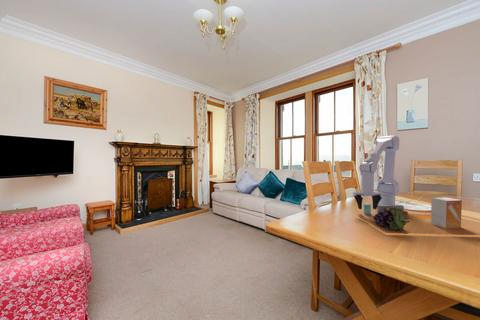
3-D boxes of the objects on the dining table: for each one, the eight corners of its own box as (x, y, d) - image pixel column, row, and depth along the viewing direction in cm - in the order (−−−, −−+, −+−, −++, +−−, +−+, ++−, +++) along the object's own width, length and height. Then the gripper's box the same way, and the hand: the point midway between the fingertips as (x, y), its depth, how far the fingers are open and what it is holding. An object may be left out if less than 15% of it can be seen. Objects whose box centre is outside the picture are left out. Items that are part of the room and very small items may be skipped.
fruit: (381, 230, 96) (419, 233, 83) (367, 230, 92) (404, 232, 79) (378, 208, 99) (414, 207, 86) (364, 207, 95) (399, 206, 82)
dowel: (362, 214, 112) (362, 203, 112) (368, 214, 111) (368, 203, 111) (365, 215, 108) (365, 204, 108) (372, 216, 108) (372, 204, 108)
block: (384, 213, 110) (384, 207, 110) (397, 213, 110) (398, 208, 109) (393, 217, 103) (393, 211, 103) (407, 217, 103) (407, 211, 102)
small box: (446, 230, 87) (446, 200, 87) (430, 225, 94) (430, 197, 93) (461, 229, 89) (462, 199, 88) (445, 224, 95) (445, 196, 94)
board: (376, 213, 112) (377, 204, 112) (401, 214, 111) (401, 205, 111) (400, 225, 94) (400, 214, 94) (429, 225, 93) (430, 215, 93)
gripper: (357, 185, 106) (357, 210, 106) (386, 185, 105) (385, 211, 105) (351, 183, 113) (350, 207, 113) (378, 183, 112) (377, 207, 112)
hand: (367, 208), depth 110 cm, fingers open, 7 cm apart
